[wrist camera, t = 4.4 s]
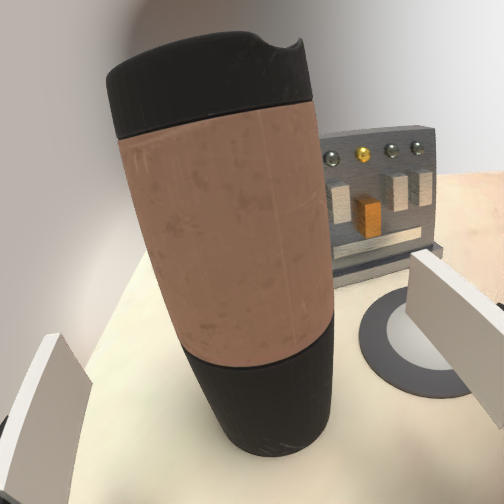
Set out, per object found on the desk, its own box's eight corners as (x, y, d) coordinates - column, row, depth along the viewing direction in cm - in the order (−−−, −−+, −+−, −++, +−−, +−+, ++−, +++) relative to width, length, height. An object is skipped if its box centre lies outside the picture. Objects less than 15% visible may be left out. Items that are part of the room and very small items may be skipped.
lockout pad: (520, 314, 20) (522, 310, 20) (474, 426, 14) (477, 422, 14) (406, 274, 30) (407, 269, 30) (325, 348, 24) (325, 344, 23)
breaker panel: (420, 241, 35) (420, 124, 29) (445, 260, 31) (451, 130, 24) (296, 273, 34) (277, 139, 28) (310, 299, 30) (293, 145, 23)
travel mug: (217, 379, 23) (133, 86, 14) (319, 360, 23) (285, 55, 14) (218, 468, 16) (64, 76, 7) (347, 446, 16) (332, 19, 7)
